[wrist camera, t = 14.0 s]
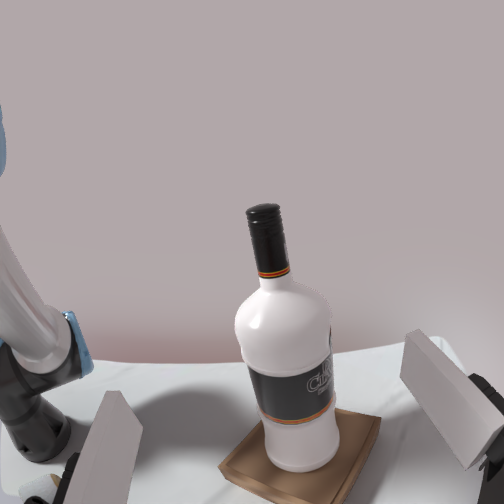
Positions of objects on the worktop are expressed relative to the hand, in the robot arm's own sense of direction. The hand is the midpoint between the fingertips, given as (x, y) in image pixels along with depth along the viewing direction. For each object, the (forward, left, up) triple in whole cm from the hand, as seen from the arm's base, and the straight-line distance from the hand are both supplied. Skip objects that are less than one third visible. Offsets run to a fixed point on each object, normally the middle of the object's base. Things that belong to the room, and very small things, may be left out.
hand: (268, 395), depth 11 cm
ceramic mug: (-29, -21, -28) cm, 46 cm away
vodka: (-6, +11, -24) cm, 27 cm away
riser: (-6, +11, -28) cm, 31 cm away
